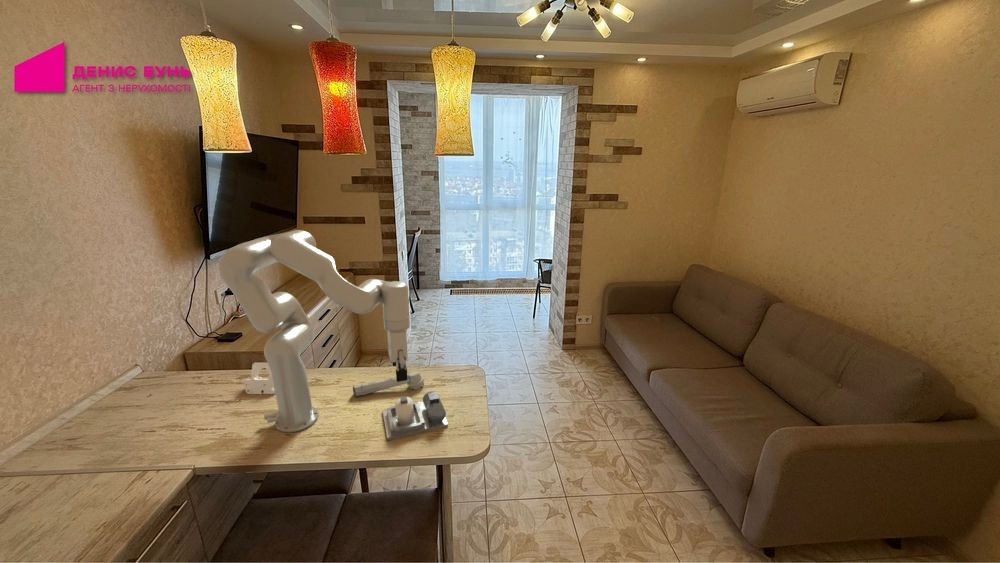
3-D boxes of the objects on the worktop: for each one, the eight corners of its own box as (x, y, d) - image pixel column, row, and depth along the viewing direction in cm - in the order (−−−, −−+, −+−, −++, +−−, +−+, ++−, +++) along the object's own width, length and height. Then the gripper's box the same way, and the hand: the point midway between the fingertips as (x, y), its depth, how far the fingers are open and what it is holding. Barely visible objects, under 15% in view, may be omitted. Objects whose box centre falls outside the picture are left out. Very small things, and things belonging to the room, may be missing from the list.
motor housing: (387, 440, 120) (385, 418, 117) (382, 412, 133) (380, 391, 130) (447, 426, 126) (447, 404, 124) (437, 400, 140) (436, 380, 137)
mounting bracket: (283, 391, 147) (285, 362, 149) (274, 394, 141) (276, 364, 142) (251, 391, 147) (253, 362, 148) (241, 394, 141) (243, 364, 142)
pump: (397, 427, 124) (396, 405, 121) (395, 417, 129) (393, 395, 126) (415, 423, 126) (414, 401, 123) (412, 413, 131) (411, 392, 128)
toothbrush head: (353, 382, 143) (420, 365, 149) (357, 398, 146) (424, 380, 151) (352, 390, 139) (422, 372, 144) (356, 406, 141) (425, 387, 147)
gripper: (381, 313, 123) (384, 361, 129) (387, 336, 108) (390, 389, 113) (405, 310, 126) (407, 358, 131) (414, 332, 111) (416, 385, 116)
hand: (399, 372), depth 122 cm, fingers open, 9 cm apart
